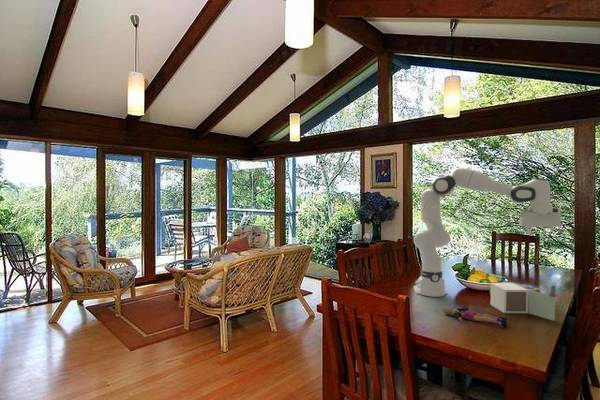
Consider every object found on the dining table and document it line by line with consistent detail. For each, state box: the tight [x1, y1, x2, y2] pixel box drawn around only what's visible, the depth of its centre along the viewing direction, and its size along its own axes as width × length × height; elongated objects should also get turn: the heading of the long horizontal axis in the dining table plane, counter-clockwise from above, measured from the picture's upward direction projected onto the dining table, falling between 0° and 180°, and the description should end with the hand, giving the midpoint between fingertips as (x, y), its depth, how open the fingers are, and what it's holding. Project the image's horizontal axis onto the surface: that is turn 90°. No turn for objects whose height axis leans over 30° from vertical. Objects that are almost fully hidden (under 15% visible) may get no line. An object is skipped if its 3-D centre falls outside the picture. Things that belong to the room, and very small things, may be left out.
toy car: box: [489, 281, 542, 295], centre depth 198 cm, size 11×25×10 cm, turn 26°
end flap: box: [527, 284, 558, 322], centre depth 172 cm, size 2×12×17 cm, turn 27°
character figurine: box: [442, 306, 508, 329], centre depth 169 cm, size 20×4×28 cm
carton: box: [489, 282, 529, 314], centre depth 185 cm, size 14×12×12 cm
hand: (539, 235), depth 186 cm, fingers open, 8 cm apart
